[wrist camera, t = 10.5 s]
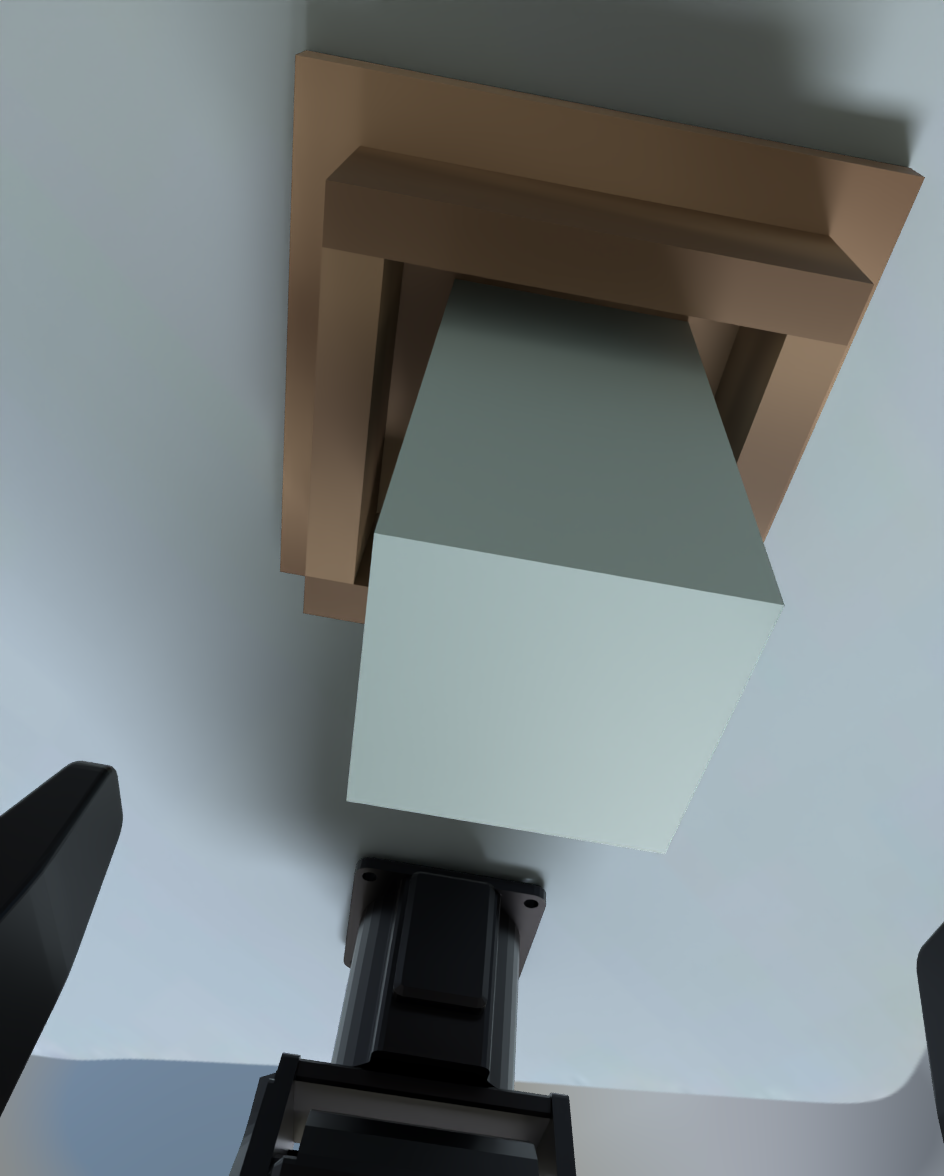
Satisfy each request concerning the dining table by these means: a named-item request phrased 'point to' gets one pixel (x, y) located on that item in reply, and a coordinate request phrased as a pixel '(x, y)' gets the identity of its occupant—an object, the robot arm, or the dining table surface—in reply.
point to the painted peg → (558, 578)
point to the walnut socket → (548, 271)
